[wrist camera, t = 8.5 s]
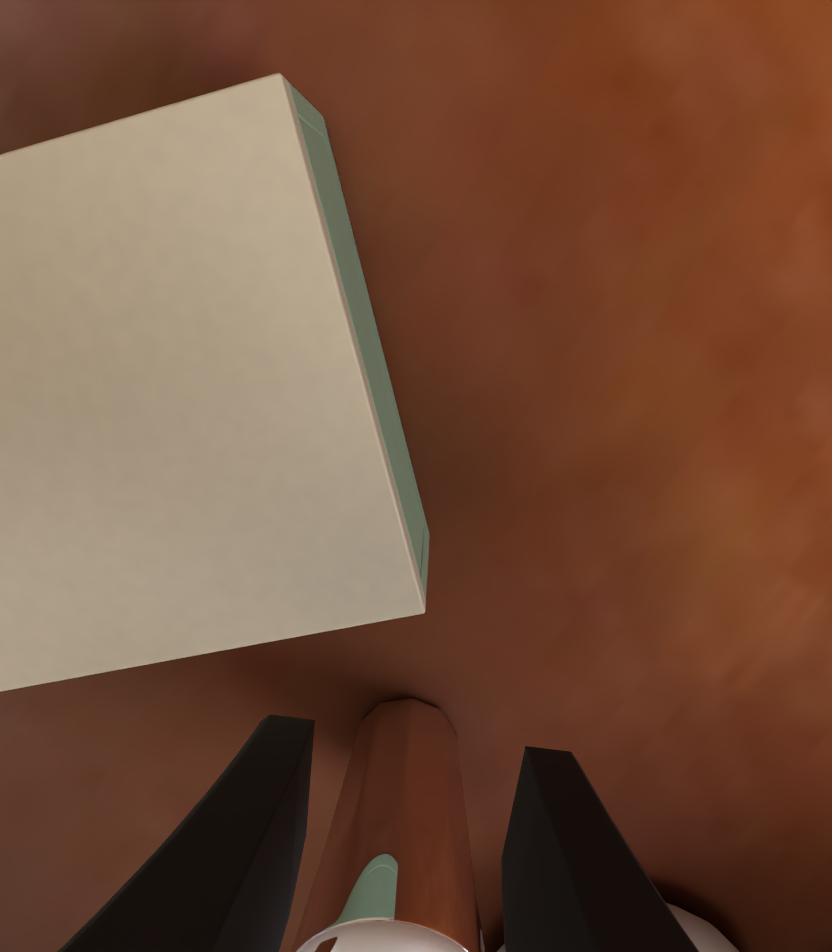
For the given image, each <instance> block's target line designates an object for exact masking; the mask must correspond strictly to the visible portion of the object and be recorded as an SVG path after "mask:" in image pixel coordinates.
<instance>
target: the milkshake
mask: <svg viewBox="0 0 832 952" xmlns="http://www.w3.org/2000/svg"><path fill="white" fill-rule="evenodd" d="M291 952H485V947H484V941H483V934H482V928H481V921H480V914H479V908H478V901H477V895H476V888H475V881H474V874H473V866H472V857H471V849H470V840H469V832H468V824H467V815H466V807H465V799H464V790H463V782H462V774H461V766H460V757H459V749H458V741H457V734H456V731H455V730H454V728H453V727H452V725H451V724H450V723H449V721H448V720H447V718H446V717H445V715H444V714H443V712H442V711H441V709H439V708H436V707H434V706H431V705H429V704H426V703H423V702H421V701H418V700H416V699H414V698H408V699H401V700H395V701H388V702H381V703H380V704H379V705H378V706H377V707H376V708H375V709H374V710H373V711H372V712H370V713H369V714H368V715H367V716H366V717H365V718H364V719H363V720H362V721H361V722H360V725H359V728H358V731H357V735H356V738H355V742H354V745H353V749H352V752H351V756H350V760H349V763H348V767H347V770H346V774H345V777H344V781H343V784H342V788H341V791H340V795H339V798H338V802H337V805H336V809H335V812H334V816H333V819H332V823H331V826H330V830H329V833H328V837H327V840H326V844H325V847H324V851H323V854H322V857H321V860H320V863H319V867H318V870H317V873H316V876H315V879H314V882H313V885H312V888H311V892H310V895H309V898H308V901H307V904H306V907H305V910H304V913H303V916H302V920H301V923H300V926H299V929H298V932H297V935H296V938H295V941H294V945H293V948H292V951H291Z"/></svg>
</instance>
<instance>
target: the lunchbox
mask: <svg viewBox="0 0 832 952" xmlns="http://www.w3.org/2000/svg"><path fill="white" fill-rule="evenodd" d="M288 83H289V82H288ZM289 87H290V91H291V94H292V98H293V102H294V106H295V109H296V113H297V117H298V121H299V125H300V128H301V132H302V136H303V140H304V143H305V147H306V151H307V155H308V158H309V162H310V166H311V170H312V173H313V177H314V181H315V185H316V188H317V192H318V196H319V200H320V204H321V207H322V211H323V215H324V219H325V222H326V226H327V230H328V234H329V237H330V241H331V245H332V249H333V252H334V256H335V260H336V264H337V268H338V271H339V275H340V279H341V283H342V286H343V290H344V294H345V298H346V301H347V305H348V309H349V313H350V316H351V320H352V324H353V328H354V331H355V335H356V339H357V343H358V347H359V350H360V354H361V358H362V362H363V365H364V369H365V373H366V377H367V380H368V384H369V388H370V392H371V395H372V399H373V403H374V407H375V411H376V414H377V418H378V422H379V426H380V429H381V433H382V437H383V441H384V444H385V448H386V452H387V456H388V459H389V463H390V467H391V471H392V474H393V478H394V482H395V486H396V490H397V493H398V497H399V501H400V505H401V508H402V512H403V516H404V520H405V523H406V527H407V531H408V535H409V538H410V542H411V546H412V550H413V553H414V557H415V561H416V565H417V569H418V572H419V576H420V580H421V584H422V587H423V591H424V595H425V598H426V588H427V571H428V554H429V531H428V527H427V523H426V519H425V515H424V511H423V507H422V503H421V499H420V495H419V491H418V488H417V484H416V480H415V476H414V472H413V468H412V464H411V460H410V456H409V452H408V448H407V444H406V440H405V436H404V432H403V429H402V425H401V421H400V417H399V413H398V409H397V405H396V401H395V397H394V393H393V389H392V385H391V381H390V377H389V374H388V370H387V366H386V362H385V358H384V354H383V350H382V346H381V342H380V338H379V334H378V330H377V326H376V322H375V318H374V315H373V311H372V307H371V303H370V299H369V295H368V291H367V287H366V283H365V279H364V275H363V271H362V267H361V263H360V259H359V256H358V252H357V248H356V244H355V240H354V236H353V232H352V228H351V224H350V220H349V216H348V212H347V208H346V204H345V200H344V197H343V193H342V189H341V185H340V181H339V177H338V173H337V169H336V165H335V161H334V157H333V153H332V149H331V145H330V141H329V138H328V134H327V130H326V126H325V122H324V118H323V116H322V115H321V114H320V113H319V112H318V111H317V110H316V109H315V108H314V107H313V106H312V105H311V104H310V103H309V102H308V101H307V100H306V99H305V98H304V97H303V96H302V95H301V94H300V93H299V92H298V91H297V90H296V89H295V88H294V87H293V86H292V85H291V84H290V83H289Z"/></svg>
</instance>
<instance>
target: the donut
mask: <svg viewBox="0 0 832 952" xmlns="http://www.w3.org/2000/svg"><path fill="white" fill-rule="evenodd" d="M666 904H667V905H668V907H669V908H670V910H671V911H672V913H673V914H674V916H675V917H676V919H677V920H678V922H679V923H680V925H681V926H682V928H683V929H684V930H685V932H686V933H687V935H688V936H689V938H690V939H691V940H692V942H693V943H694V945H695V946H696V948H697V949H698V951H699V952H739V951H738V950H737V949H736V948H735V947H734V946H733V945H732V944H731V943H730V942H729V941H728V940H727V939H726V938H725V937H724V936H723V935H722V934H721V933H720V932H719V931H718V930H717V929H716V928H715V927H714V926H713V925H712V924H711V923H709V922H707V921H705V920H703V919H701V918H699V917H697V916H695V915H693V914H691V913H689V912H687V911H685V910H683V909H681V908H679V907H677V906H674V905H671V904H669V903H666ZM497 952H505V944H503V945H502V947H501V948H500V949H499V950H498V951H497Z"/></svg>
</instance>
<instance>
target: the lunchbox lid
mask: <svg viewBox="0 0 832 952" xmlns="http://www.w3.org/2000/svg"><path fill="white" fill-rule="evenodd" d="M425 605H426V599H425V595H424V591H423V587H422V584H421V580H420V576H419V572H418V569H417V565H416V561H415V557H414V553H413V550H412V546H411V542H410V538H409V535H408V531H407V527H406V523H405V520H404V516H403V512H402V508H401V505H400V501H399V497H398V493H397V490H396V486H395V482H394V478H393V474H392V471H391V467H390V463H389V459H388V456H387V452H386V448H385V444H384V441H383V437H382V433H381V429H380V426H379V422H378V418H377V414H376V411H375V407H374V403H373V399H372V395H371V392H370V388H369V384H368V380H367V377H366V373H365V369H364V365H363V362H362V358H361V354H360V350H359V347H358V343H357V339H356V335H355V331H354V328H353V324H352V320H351V316H350V313H349V309H348V305H347V301H346V298H345V294H344V290H343V286H342V283H341V279H340V275H339V271H338V268H337V264H336V260H335V256H334V252H333V249H332V245H331V241H330V237H329V234H328V230H327V226H326V222H325V219H324V215H323V211H322V207H321V204H320V200H319V196H318V192H317V188H316V185H315V181H314V177H313V173H312V170H311V166H310V162H309V158H308V155H307V151H306V147H305V143H304V140H303V136H302V132H301V128H300V125H299V121H298V117H297V113H296V109H295V106H294V102H293V98H292V94H291V91H290V87H289V83H288V81H287V79H286V78H285V77H284V76H283V75H281V74H280V73H275V74H272V75H269V76H265V77H262V78H258V79H255V80H252V81H248V82H245V83H241V84H238V85H235V86H231V87H228V88H224V89H221V90H218V91H214V92H211V93H207V94H204V95H201V96H197V97H194V98H190V99H187V100H184V101H180V102H177V103H173V104H170V105H167V106H163V107H160V108H156V109H153V110H150V111H146V112H143V113H139V114H136V115H133V116H129V117H126V118H122V119H119V120H116V121H112V122H109V123H105V124H102V125H99V126H95V127H92V128H88V129H85V130H82V131H78V132H75V133H71V134H68V135H65V136H61V137H58V138H54V139H51V140H48V141H44V142H41V143H37V144H34V145H31V146H27V147H24V148H20V149H17V150H14V151H10V152H7V153H3V154H0V691H6V690H11V689H17V688H22V687H27V686H33V685H38V684H44V683H49V682H54V681H60V680H65V679H71V678H76V677H82V676H87V675H92V674H98V673H103V672H109V671H114V670H120V669H125V668H130V667H136V666H141V665H147V664H152V663H157V662H163V661H168V660H174V659H179V658H185V657H190V656H195V655H201V654H206V653H212V652H217V651H223V650H228V649H233V648H239V647H244V646H250V645H255V644H260V643H266V642H271V641H277V640H282V639H288V638H293V637H298V636H304V635H309V634H315V633H320V632H326V631H331V630H336V629H342V628H347V627H353V626H358V625H363V624H369V623H374V622H380V621H385V620H391V619H396V618H401V617H407V616H412V615H418V614H423V613H425Z"/></svg>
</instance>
